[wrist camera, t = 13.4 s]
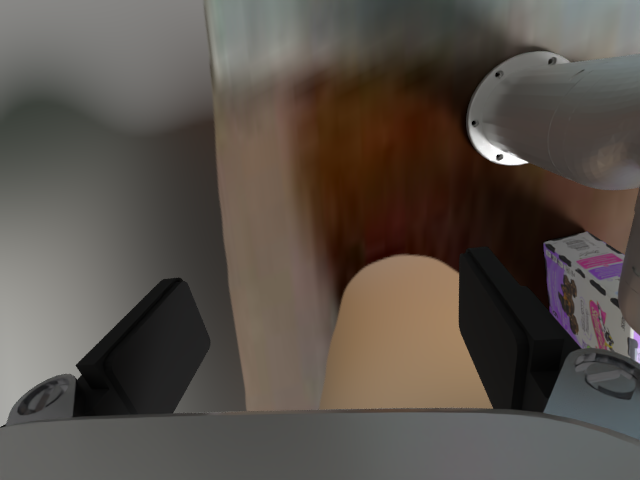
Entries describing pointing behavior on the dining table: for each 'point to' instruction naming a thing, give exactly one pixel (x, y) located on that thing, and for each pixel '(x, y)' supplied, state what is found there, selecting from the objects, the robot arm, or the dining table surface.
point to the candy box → (588, 293)
